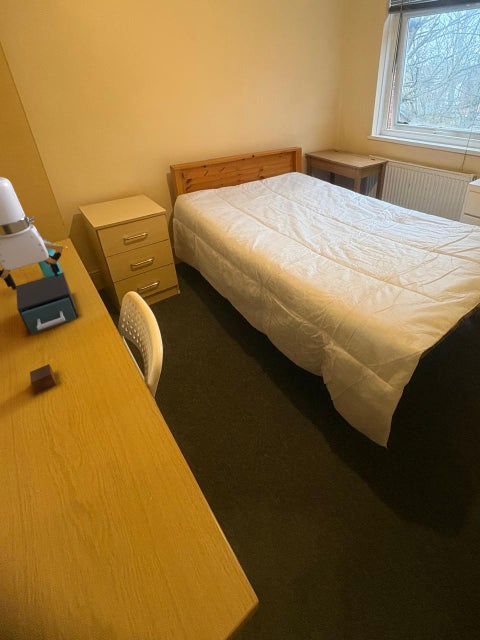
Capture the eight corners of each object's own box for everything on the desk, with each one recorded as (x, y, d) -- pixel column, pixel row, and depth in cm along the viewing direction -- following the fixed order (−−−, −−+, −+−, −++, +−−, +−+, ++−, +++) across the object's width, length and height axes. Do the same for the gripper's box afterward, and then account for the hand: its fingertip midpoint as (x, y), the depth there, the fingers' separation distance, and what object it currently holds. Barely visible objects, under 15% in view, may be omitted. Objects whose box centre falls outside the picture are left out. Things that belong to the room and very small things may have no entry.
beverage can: (52, 282, 120) (37, 247, 113) (41, 279, 121) (26, 244, 114) (66, 274, 124) (53, 240, 118) (56, 271, 126) (42, 237, 119)
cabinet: (78, 317, 103) (69, 293, 99) (29, 334, 96) (17, 309, 92) (72, 295, 113) (63, 272, 109) (27, 309, 106) (16, 285, 101)
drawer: (79, 327, 98) (71, 307, 94) (32, 344, 91) (22, 323, 88) (70, 298, 110) (63, 279, 107) (29, 311, 104) (19, 292, 100)
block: (36, 393, 78) (30, 382, 77) (35, 382, 81) (29, 371, 79) (56, 384, 81) (51, 374, 79) (54, 374, 83) (49, 363, 82)
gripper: (49, 213, 90) (69, 264, 98) (-35, 231, 80) (-4, 286, 88) (52, 221, 85) (74, 275, 92) (-37, 241, 75) (-4, 299, 83)
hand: (36, 280), depth 90 cm, fingers open, 9 cm apart
